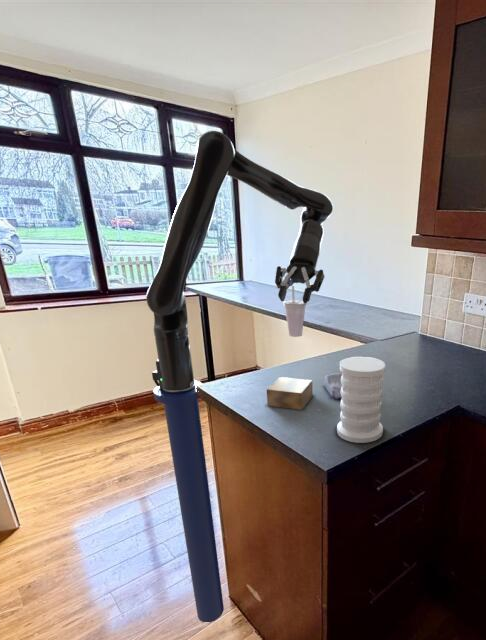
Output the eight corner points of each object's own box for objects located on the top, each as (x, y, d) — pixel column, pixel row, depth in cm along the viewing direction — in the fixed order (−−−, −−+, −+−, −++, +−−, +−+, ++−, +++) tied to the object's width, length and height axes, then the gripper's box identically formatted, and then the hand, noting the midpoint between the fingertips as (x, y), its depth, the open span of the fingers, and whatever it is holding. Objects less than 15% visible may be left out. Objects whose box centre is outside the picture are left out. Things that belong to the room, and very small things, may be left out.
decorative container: (327, 428, 102) (328, 361, 96) (363, 416, 109) (365, 353, 103) (356, 448, 94) (358, 375, 88) (392, 433, 101) (397, 366, 95)
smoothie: (279, 334, 117) (277, 285, 111) (296, 330, 122) (294, 283, 116) (295, 339, 113) (294, 288, 108) (311, 335, 118) (311, 286, 113)
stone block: (350, 387, 133) (320, 384, 128) (353, 374, 131) (324, 370, 127) (361, 403, 122) (330, 400, 118) (365, 389, 121) (334, 386, 117)
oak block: (267, 405, 113) (266, 389, 111) (280, 392, 122) (280, 376, 121) (301, 409, 112) (301, 393, 110) (312, 395, 121) (312, 380, 119)
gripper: (278, 242, 116) (264, 290, 109) (327, 245, 114) (315, 294, 108) (285, 260, 123) (272, 306, 116) (331, 263, 121) (320, 310, 114)
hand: (293, 300), depth 112 cm, fingers closed on smoothie, 6 cm apart
